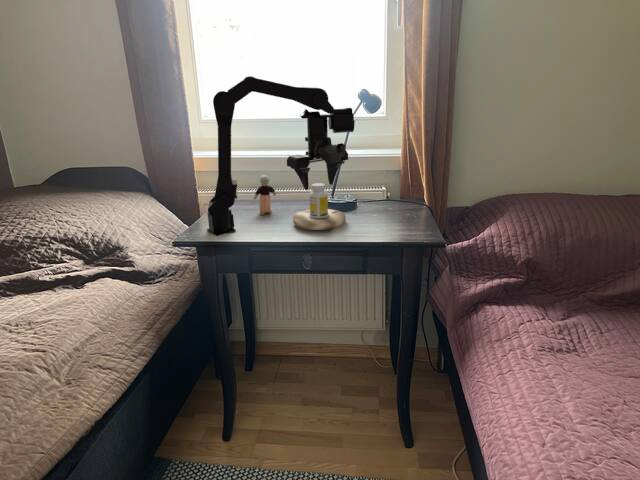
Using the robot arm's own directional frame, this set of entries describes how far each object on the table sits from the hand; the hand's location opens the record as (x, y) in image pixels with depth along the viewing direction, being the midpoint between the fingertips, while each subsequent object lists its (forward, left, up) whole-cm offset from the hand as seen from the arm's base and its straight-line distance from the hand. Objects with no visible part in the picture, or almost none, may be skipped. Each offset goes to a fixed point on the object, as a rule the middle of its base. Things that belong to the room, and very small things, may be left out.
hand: (319, 187), depth 137 cm
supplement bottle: (0, 0, -9) cm, 9 cm away
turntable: (0, 0, -12) cm, 12 cm away
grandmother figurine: (-6, +21, -12) cm, 25 cm away
